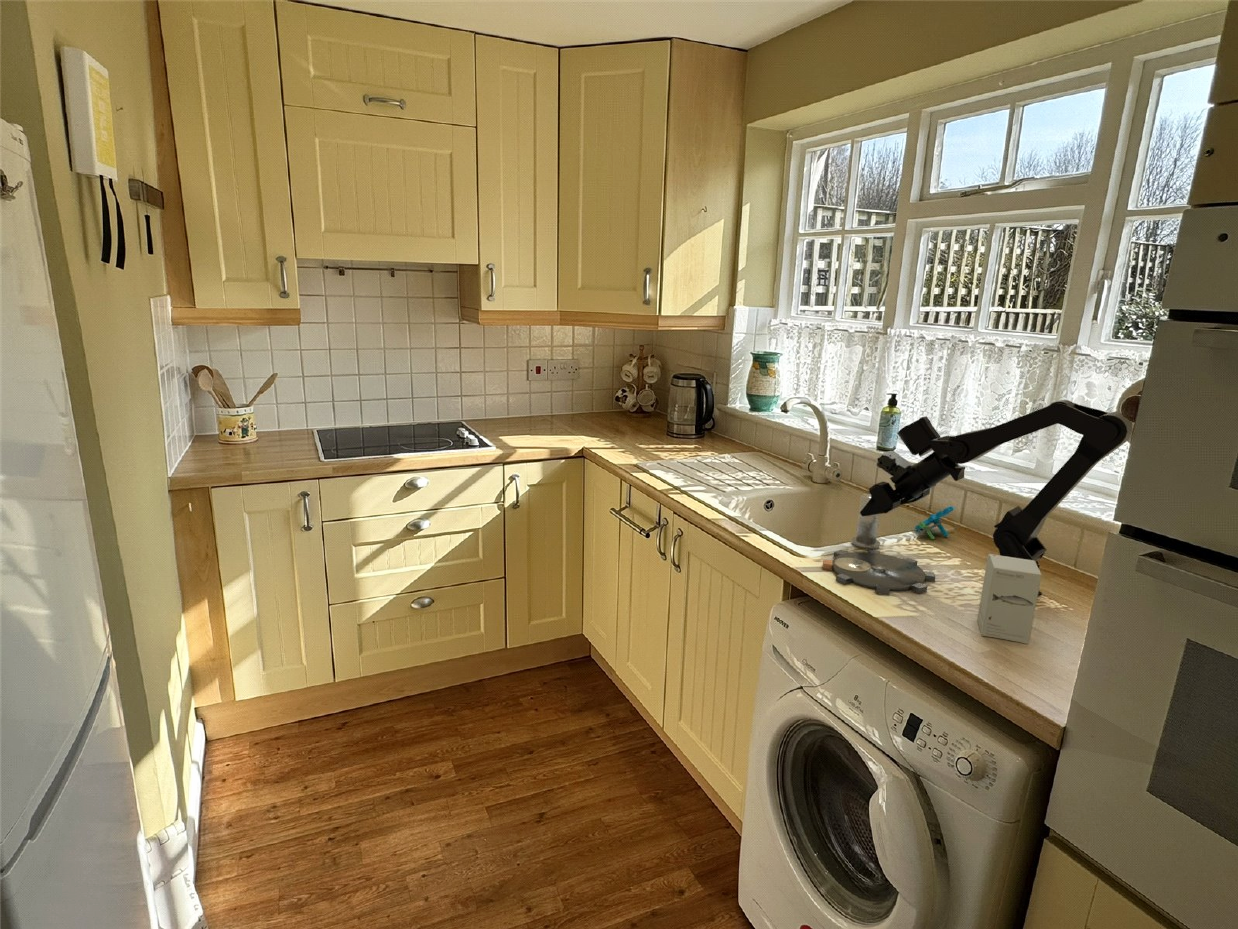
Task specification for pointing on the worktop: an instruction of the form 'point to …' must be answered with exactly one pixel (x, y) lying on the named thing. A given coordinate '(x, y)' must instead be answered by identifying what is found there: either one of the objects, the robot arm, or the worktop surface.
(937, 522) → the cyan green stick cluster
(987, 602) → the supplement box
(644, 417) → the worktop surface
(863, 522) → the pin
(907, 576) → the sprocket plate
